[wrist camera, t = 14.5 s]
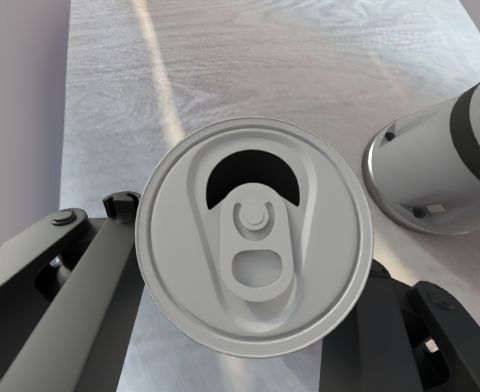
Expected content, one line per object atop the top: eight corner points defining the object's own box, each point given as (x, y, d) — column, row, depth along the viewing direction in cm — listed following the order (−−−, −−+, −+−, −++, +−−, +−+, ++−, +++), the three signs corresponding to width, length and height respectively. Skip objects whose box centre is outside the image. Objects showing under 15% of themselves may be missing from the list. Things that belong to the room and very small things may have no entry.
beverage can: (276, 196, 17) (364, 96, 5) (282, 270, 15) (430, 379, 3) (207, 199, 17) (130, 103, 5) (207, 273, 15) (94, 394, 3)
